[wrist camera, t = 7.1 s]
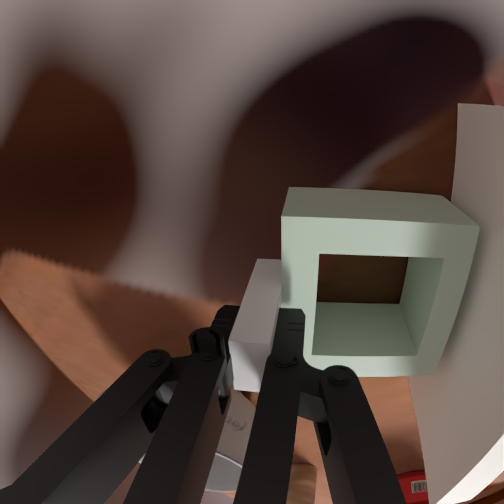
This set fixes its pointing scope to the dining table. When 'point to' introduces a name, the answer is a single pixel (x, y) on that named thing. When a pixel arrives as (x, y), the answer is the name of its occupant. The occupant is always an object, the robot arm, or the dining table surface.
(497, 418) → the wall
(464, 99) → the dining table surface
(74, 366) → the dining table surface
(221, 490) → the teacup
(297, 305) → the holed block
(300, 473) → the dowel
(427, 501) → the canned food
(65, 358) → the dining table surface
